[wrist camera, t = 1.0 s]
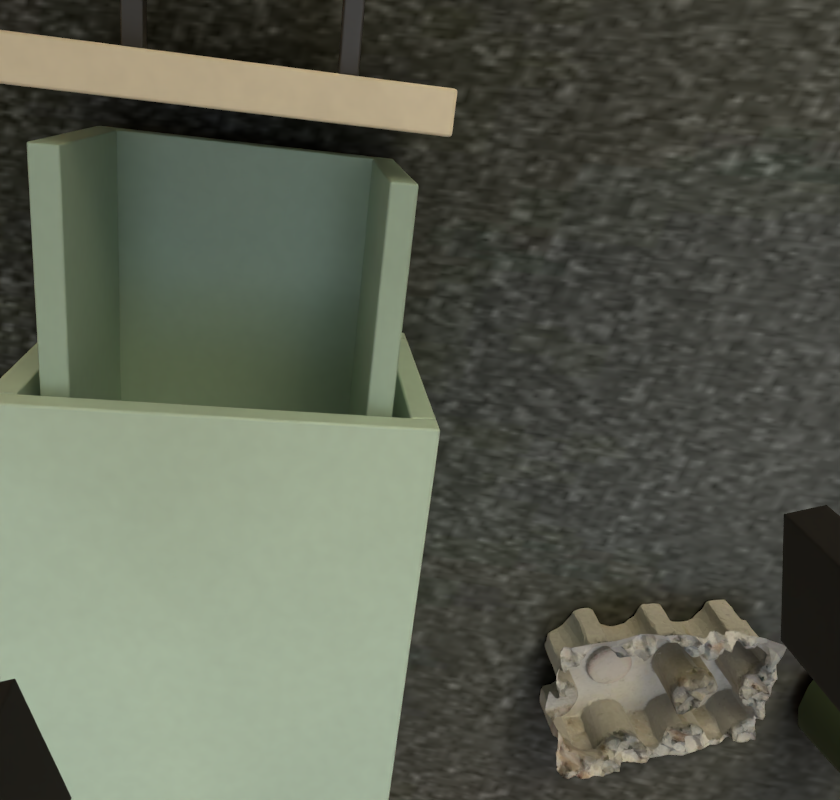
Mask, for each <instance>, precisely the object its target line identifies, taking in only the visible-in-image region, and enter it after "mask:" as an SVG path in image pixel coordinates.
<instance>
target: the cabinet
mask: <svg viewBox="0 0 840 800" xmlns="http://www.w3.org/2000/svg"><path fill="white" fill-rule="evenodd" d="M439 435H440V429H439V427H438V424H437V421H436V419H435V416H434V413H433V410H432V408H431V405H430V402H429V400H428V397H427V394H426V391H425V389H424V386H423V383H422V380H421V378H420V375H419V372H418V370H417V367H416V364H415V361H414V359H413V356H412V353H411V351H410V348H409V345H408V342H407V340H406V337H405V334H404V333H402V335H401V344H400V352H399V361H398V370H397V378H396V387H395V396H394V404H393V413H392V417H380V416H363V415H347V414H330V413H314V412H297V411H281V410H265V409H248V408H232V407H215V406H199V405H182V404H166V403H149V402H133V401H116V400H100V399H84V398H67V397H51V396H41V395H40V377H39V359H38V342H37V343H36V344H35V345H34V346H33V347H32V348H31V349H30V350H29V351H28V352H27V353H26V354H25V355H24V356H23V357H22V358H21V359H20V360H19V361H18V362H17V363H16V364H15V365H14V366H13V367H12V368H11V369H10V370H9V371H7V372H6V373H5V374H4V375H3V376H2V377H1V378H0V682H1V681H6V680H10V679H16V681H17V684H18V686H19V688H20V690H21V692H22V694H23V696H24V698H25V700H26V703H27V705H28V707H29V709H30V711H31V713H32V715H33V717H34V719H35V722H36V724H37V726H38V728H39V730H40V732H41V734H42V736H43V738H44V741H45V743H46V745H47V747H48V749H49V751H50V753H51V755H52V757H53V760H54V762H55V764H56V766H57V768H58V770H59V772H60V774H61V776H62V779H63V781H64V783H65V785H66V787H67V789H68V791H69V793H70V795H71V797H72V798H71V800H389V793H390V786H391V779H392V772H393V765H394V758H395V750H396V743H397V736H398V729H399V722H400V715H401V707H402V700H403V693H404V686H405V679H406V672H407V664H408V657H409V650H410V643H411V636H412V629H413V621H414V614H415V607H416V600H417V593H418V586H419V578H420V571H421V564H422V557H423V550H424V543H425V535H426V528H427V521H428V514H429V507H430V500H431V492H432V485H433V478H434V471H435V464H436V457H437V450H438V442H439Z"/></svg>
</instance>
